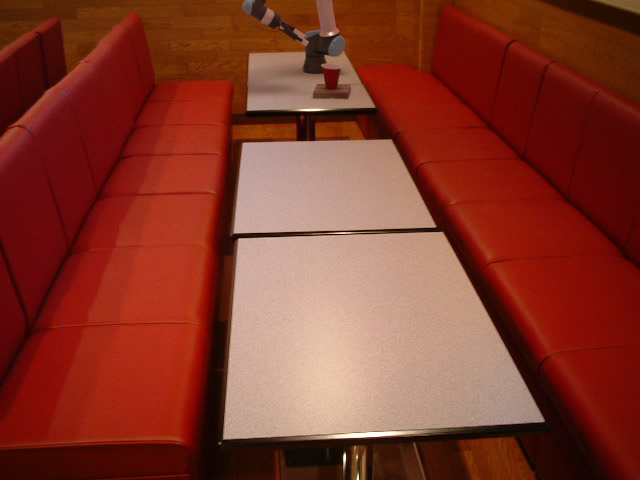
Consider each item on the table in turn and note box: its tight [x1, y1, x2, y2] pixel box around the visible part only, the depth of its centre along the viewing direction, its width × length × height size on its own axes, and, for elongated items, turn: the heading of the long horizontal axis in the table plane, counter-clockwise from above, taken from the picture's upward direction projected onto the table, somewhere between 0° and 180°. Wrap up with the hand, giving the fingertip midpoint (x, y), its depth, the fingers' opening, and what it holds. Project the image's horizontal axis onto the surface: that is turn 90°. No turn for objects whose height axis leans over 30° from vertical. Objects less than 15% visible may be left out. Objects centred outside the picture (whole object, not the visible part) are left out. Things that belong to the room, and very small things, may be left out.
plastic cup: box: [321, 63, 343, 90], centre depth 330 cm, size 11×11×12 cm
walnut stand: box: [312, 83, 352, 100], centre depth 333 cm, size 18×18×3 cm
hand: (305, 40), depth 333 cm, fingers open, 13 cm apart
